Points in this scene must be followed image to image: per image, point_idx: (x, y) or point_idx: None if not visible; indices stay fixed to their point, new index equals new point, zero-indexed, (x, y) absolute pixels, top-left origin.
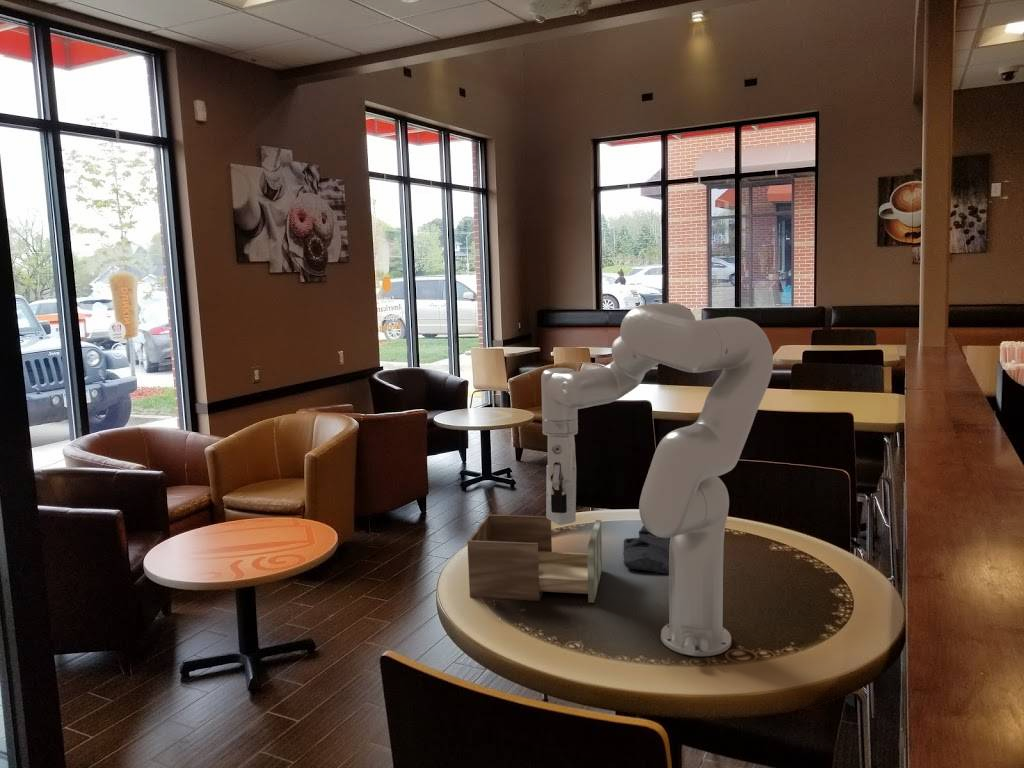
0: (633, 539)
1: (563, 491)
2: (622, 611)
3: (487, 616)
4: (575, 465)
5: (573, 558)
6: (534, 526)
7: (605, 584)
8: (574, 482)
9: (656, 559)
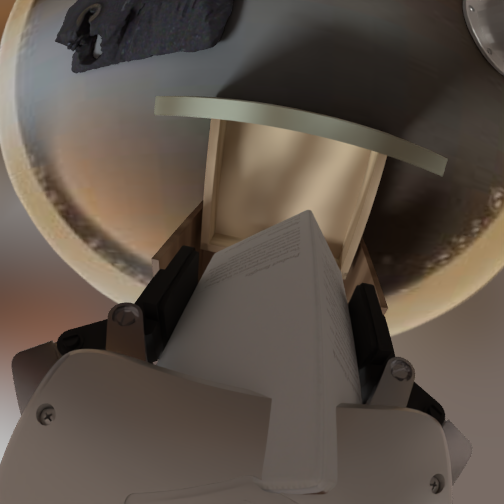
0: (81, 55)
1: (412, 382)
2: (422, 90)
3: (392, 304)
4: (99, 420)
5: (218, 164)
6: None
7: (292, 93)
8: (328, 362)
9: None
